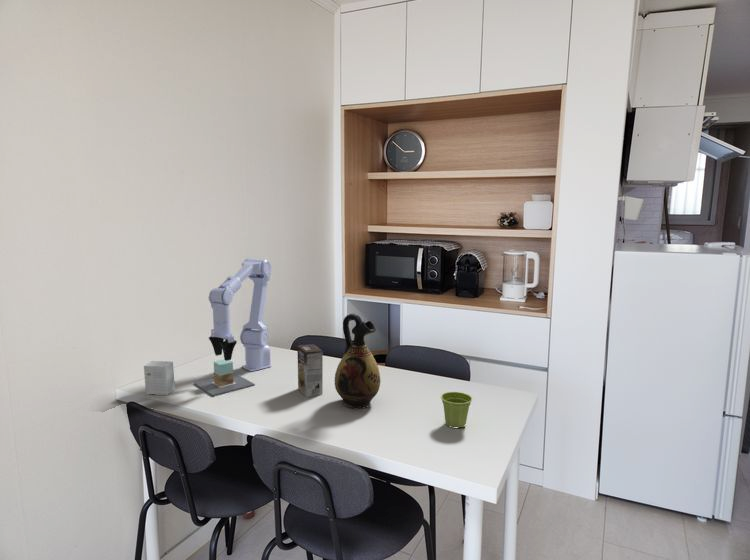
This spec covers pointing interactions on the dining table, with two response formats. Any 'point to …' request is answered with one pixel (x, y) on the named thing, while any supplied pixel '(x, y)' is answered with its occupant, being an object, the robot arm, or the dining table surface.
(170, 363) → the small box
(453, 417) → the plant pot
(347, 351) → the ceramic jug
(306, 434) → the dining table surface
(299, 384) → the coffee box
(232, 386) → the baseplate
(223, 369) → the brick teal
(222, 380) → the brick walnut
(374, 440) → the dining table surface
